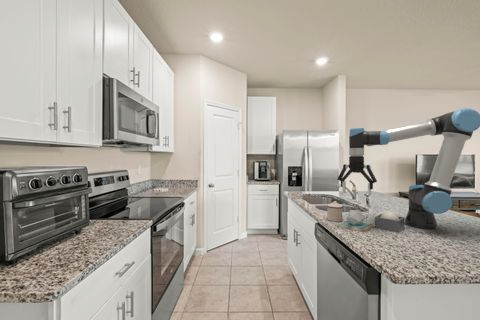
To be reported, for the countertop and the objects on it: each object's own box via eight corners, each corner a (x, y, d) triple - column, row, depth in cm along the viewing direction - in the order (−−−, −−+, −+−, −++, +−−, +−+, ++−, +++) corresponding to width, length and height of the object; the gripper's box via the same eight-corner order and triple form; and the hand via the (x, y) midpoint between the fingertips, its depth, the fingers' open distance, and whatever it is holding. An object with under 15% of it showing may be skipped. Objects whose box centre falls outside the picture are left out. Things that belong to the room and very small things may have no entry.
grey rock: (363, 228, 135) (369, 213, 138) (348, 220, 136) (355, 204, 139) (356, 229, 142) (362, 215, 145) (342, 221, 144) (348, 207, 147)
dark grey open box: (404, 228, 139) (404, 217, 139) (398, 232, 131) (399, 221, 131) (381, 224, 147) (381, 213, 147) (374, 228, 139) (374, 217, 139)
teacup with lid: (345, 221, 152) (346, 202, 151) (331, 222, 150) (332, 202, 150) (335, 216, 163) (335, 199, 163) (321, 217, 162) (322, 199, 162)
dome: (401, 226, 139) (401, 210, 139) (396, 229, 132) (397, 213, 132) (382, 223, 145) (382, 208, 145) (377, 226, 139) (377, 210, 139)
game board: (373, 226, 141) (373, 224, 141) (364, 232, 131) (364, 229, 131) (347, 222, 151) (347, 219, 151) (337, 226, 141) (337, 224, 141)
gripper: (331, 155, 146) (331, 192, 147) (379, 155, 129) (378, 197, 129) (337, 155, 152) (337, 191, 152) (383, 155, 134) (383, 195, 134)
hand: (356, 194), depth 140 cm, fingers open, 13 cm apart
